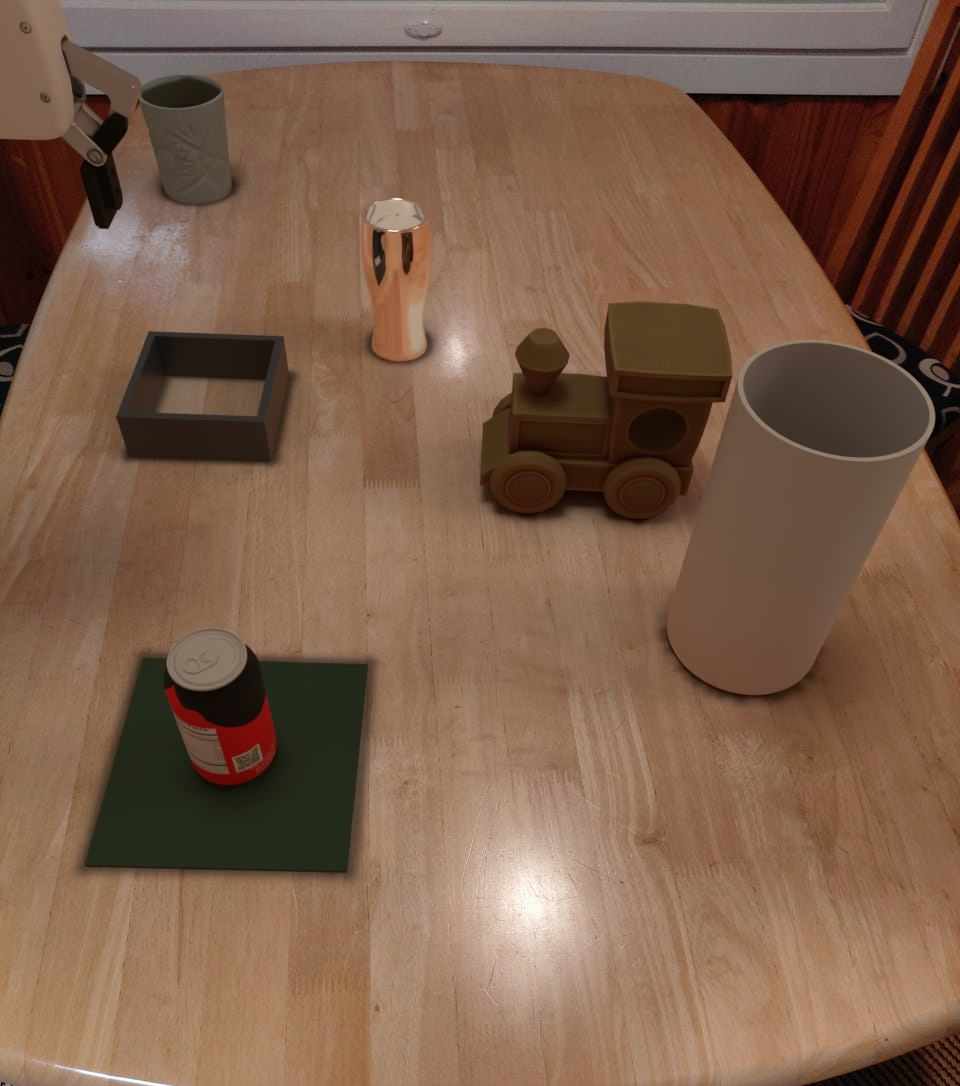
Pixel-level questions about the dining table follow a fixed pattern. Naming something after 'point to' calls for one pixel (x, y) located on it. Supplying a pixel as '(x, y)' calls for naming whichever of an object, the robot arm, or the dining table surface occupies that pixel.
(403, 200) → the beer glass
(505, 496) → the wooden toy train
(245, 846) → the mat
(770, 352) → the cylinder vase
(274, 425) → the box
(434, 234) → the dining table surface
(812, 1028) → the dining table surface
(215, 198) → the grey-green embossed pot
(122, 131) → the robot arm
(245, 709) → the beverage can
